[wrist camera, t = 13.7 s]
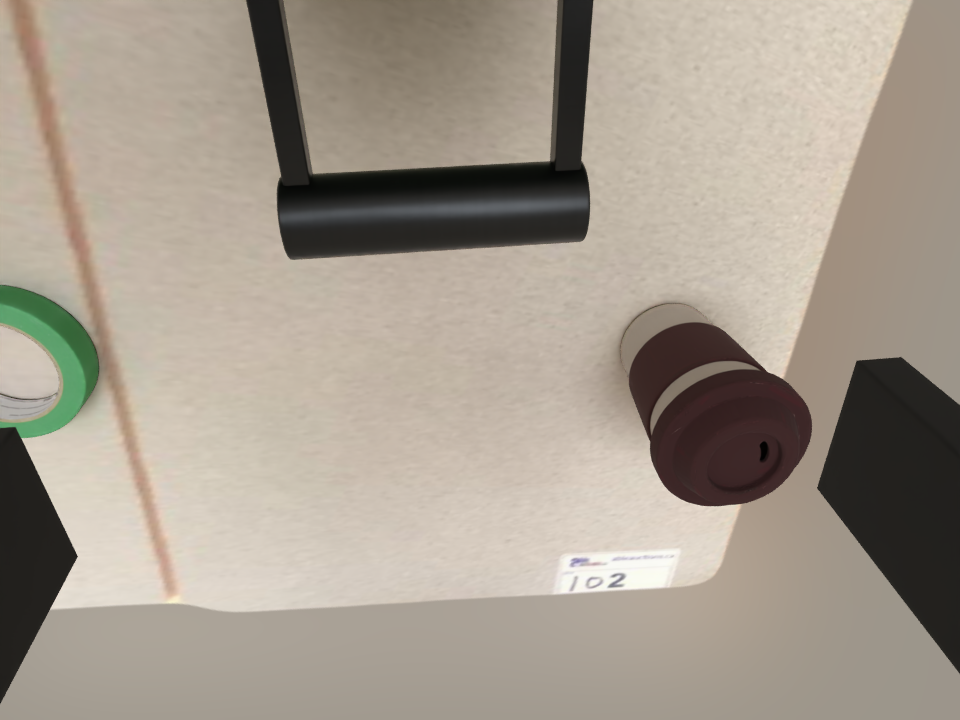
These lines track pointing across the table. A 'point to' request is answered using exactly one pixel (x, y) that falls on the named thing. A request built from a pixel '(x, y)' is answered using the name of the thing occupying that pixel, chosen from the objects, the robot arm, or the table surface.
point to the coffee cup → (711, 409)
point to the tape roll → (65, 351)
